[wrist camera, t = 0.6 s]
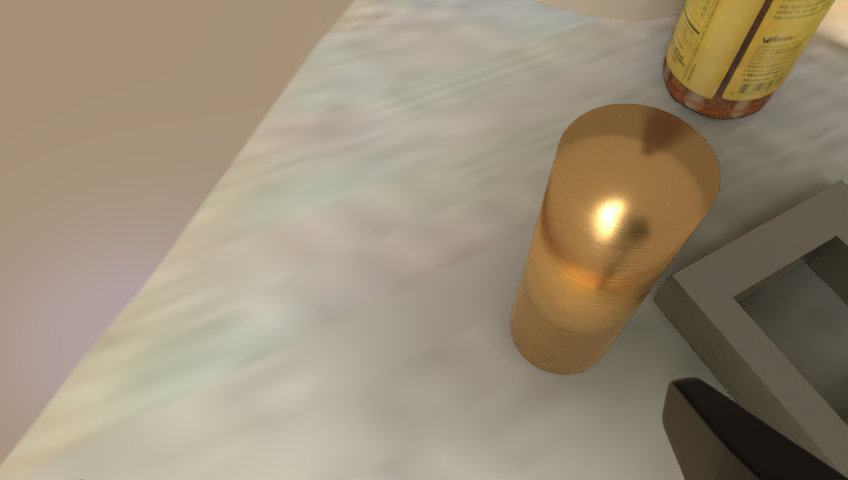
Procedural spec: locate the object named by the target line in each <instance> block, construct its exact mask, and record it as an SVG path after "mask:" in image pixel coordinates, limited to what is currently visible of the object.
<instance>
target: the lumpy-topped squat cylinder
mask: <svg viewBox="0 0 848 480" xmlns="http://www.w3.org/2000/svg"><path fill="white" fill-rule="evenodd" d="M534 1H537V2H539V3H542V4H545V5H548V6H552V7H556V8H560V9H564V10H568V11H572V12H576V13H581V14H586V15H592V16H597V17H604V18H611V19H618V20H628V21H643V20H651V19H657V18H662V17H668V16H672V15H677V14H680V13H681V10H682V7H683V5H684V2H685V0H534Z"/></svg>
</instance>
